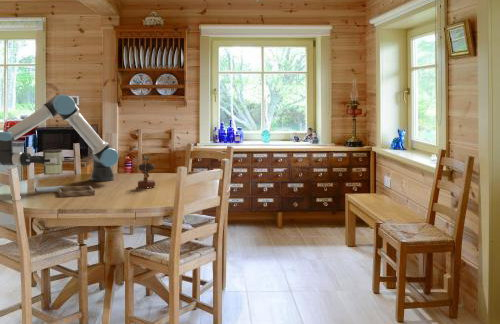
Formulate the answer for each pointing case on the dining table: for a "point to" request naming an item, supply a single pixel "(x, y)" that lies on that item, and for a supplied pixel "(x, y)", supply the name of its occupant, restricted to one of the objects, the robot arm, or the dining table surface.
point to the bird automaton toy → (146, 174)
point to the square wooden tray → (75, 191)
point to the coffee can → (53, 167)
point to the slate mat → (47, 189)
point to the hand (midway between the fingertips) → (60, 159)
